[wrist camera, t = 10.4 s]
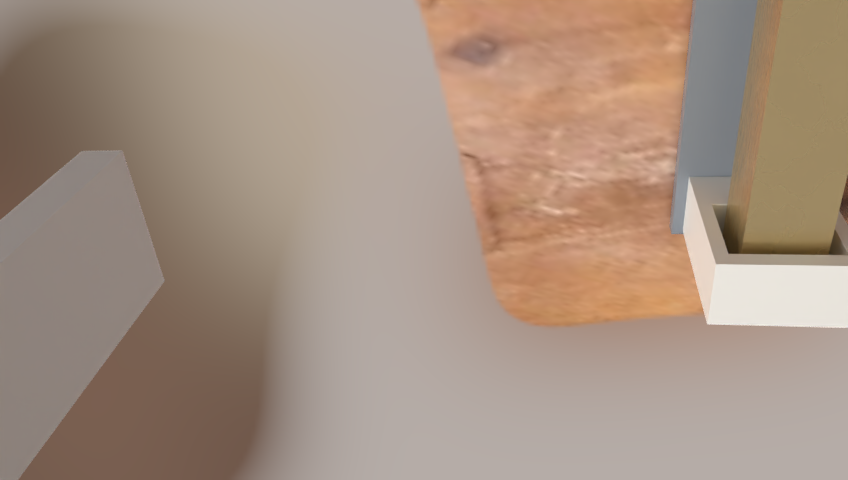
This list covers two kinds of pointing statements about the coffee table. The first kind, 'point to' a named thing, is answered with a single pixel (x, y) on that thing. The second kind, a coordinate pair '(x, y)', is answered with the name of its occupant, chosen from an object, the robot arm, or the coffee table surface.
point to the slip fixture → (710, 182)
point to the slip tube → (791, 131)
